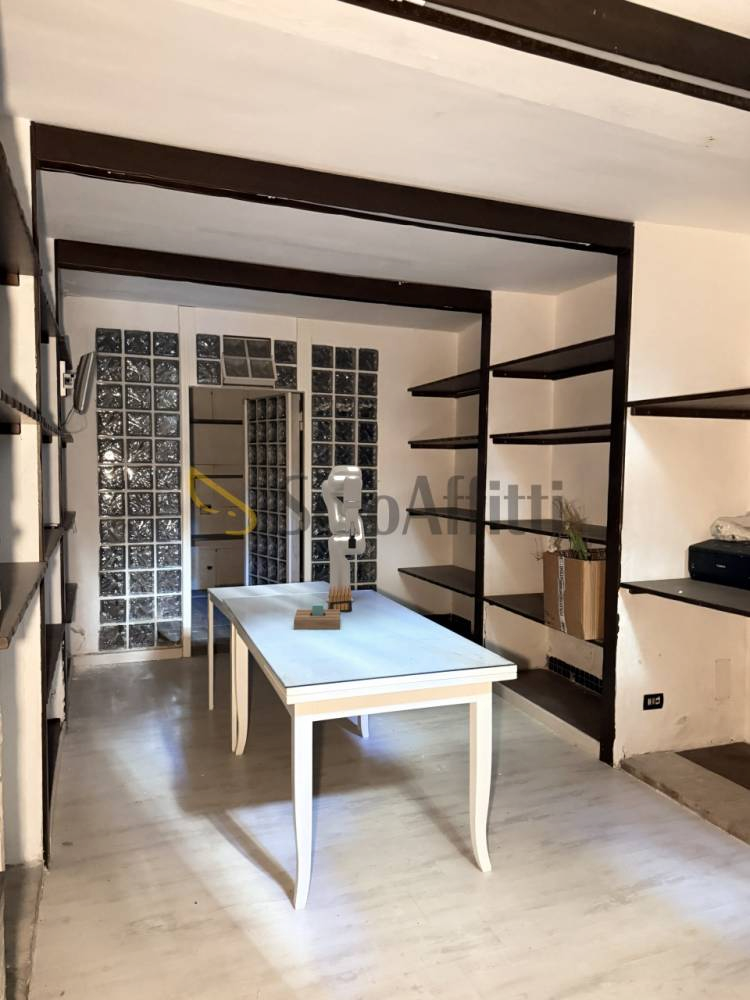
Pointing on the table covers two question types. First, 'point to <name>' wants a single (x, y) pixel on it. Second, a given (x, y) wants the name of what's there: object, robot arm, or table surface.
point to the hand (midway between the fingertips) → (352, 548)
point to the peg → (317, 609)
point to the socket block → (317, 619)
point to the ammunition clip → (340, 599)
